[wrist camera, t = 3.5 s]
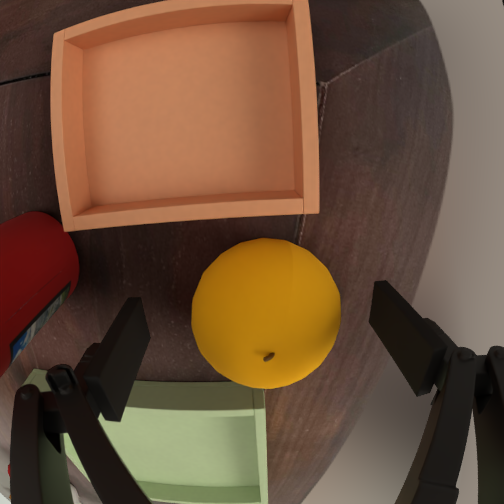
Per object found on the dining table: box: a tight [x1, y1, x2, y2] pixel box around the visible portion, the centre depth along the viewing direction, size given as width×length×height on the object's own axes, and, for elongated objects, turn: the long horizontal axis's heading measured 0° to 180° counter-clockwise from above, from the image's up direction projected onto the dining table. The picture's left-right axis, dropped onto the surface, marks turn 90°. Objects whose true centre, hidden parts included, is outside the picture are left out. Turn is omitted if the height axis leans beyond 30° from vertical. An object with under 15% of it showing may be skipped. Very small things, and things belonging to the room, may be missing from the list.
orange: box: [191, 238, 341, 389], centre depth 16 cm, size 8×8×8 cm
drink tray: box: [51, 0, 319, 232], centre depth 14 cm, size 14×12×3 cm
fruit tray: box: [22, 369, 268, 504], centre depth 24 cm, size 22×20×3 cm
